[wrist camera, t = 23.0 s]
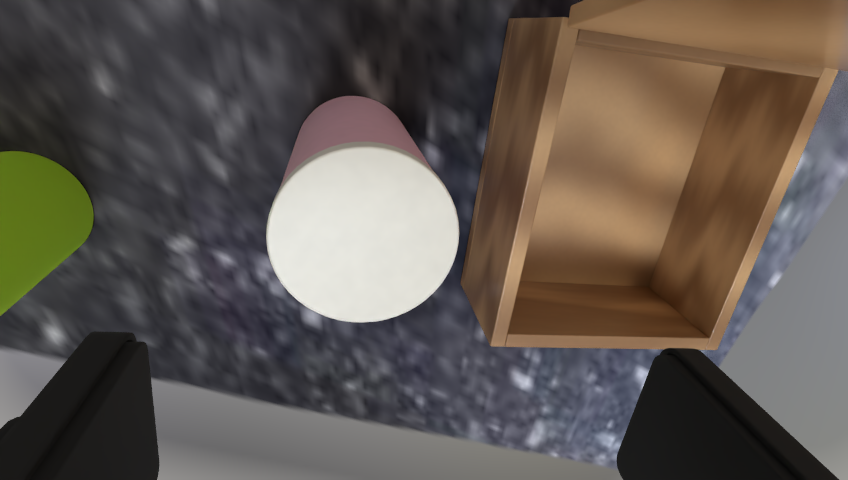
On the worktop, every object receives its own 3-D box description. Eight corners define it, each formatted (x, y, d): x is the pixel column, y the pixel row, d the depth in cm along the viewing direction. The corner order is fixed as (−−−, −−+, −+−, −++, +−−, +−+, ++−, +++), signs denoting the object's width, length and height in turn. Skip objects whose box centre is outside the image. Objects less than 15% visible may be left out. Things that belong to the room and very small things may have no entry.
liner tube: (430, 127, 27) (493, 196, 16) (380, 224, 29) (407, 345, 18) (323, 72, 25) (312, 110, 14) (277, 180, 27) (236, 287, 16)
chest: (648, 291, 34) (717, 350, 28) (459, 283, 31) (490, 346, 25) (732, 53, 28) (842, 61, 22) (508, 18, 25) (563, 16, 19)
